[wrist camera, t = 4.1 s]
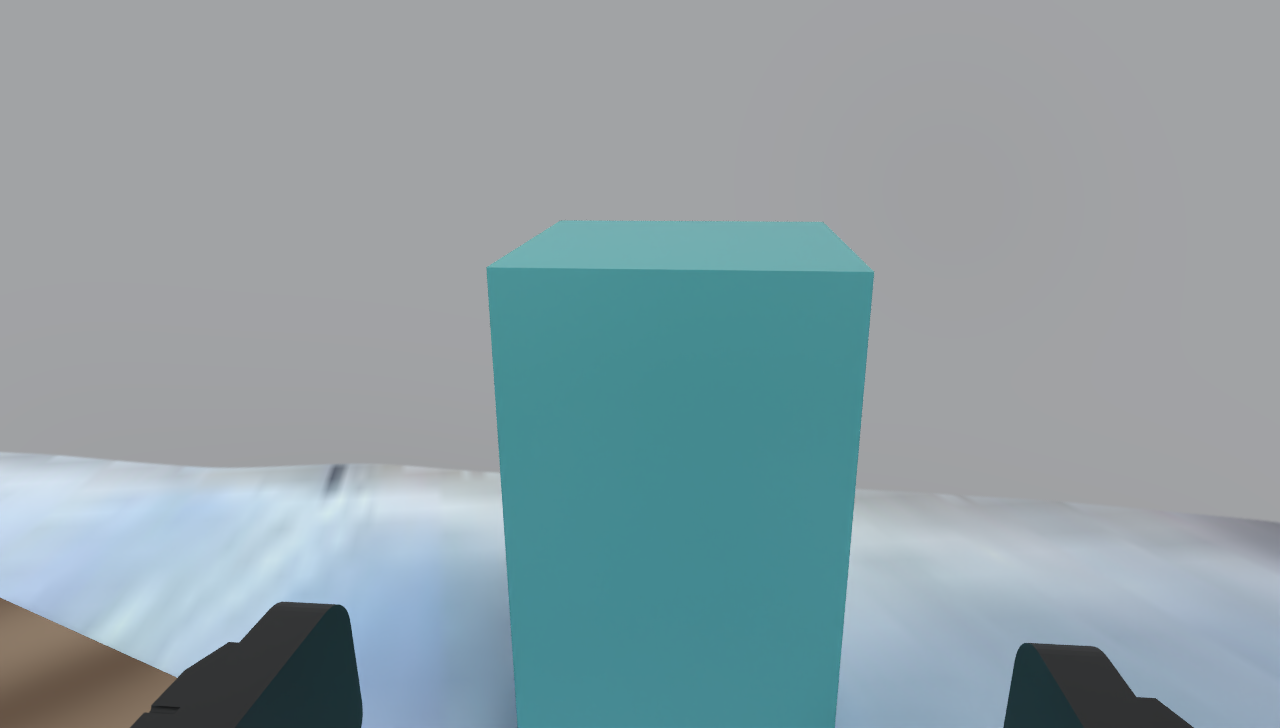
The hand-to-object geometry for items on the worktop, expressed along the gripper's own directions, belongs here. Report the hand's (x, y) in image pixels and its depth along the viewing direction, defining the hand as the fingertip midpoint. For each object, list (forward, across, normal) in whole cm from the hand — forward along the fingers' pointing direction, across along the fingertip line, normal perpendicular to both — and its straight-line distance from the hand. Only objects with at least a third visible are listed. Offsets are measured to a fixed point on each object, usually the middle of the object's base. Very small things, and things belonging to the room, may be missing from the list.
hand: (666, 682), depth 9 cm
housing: (+6, 0, +6) cm, 9 cm away
